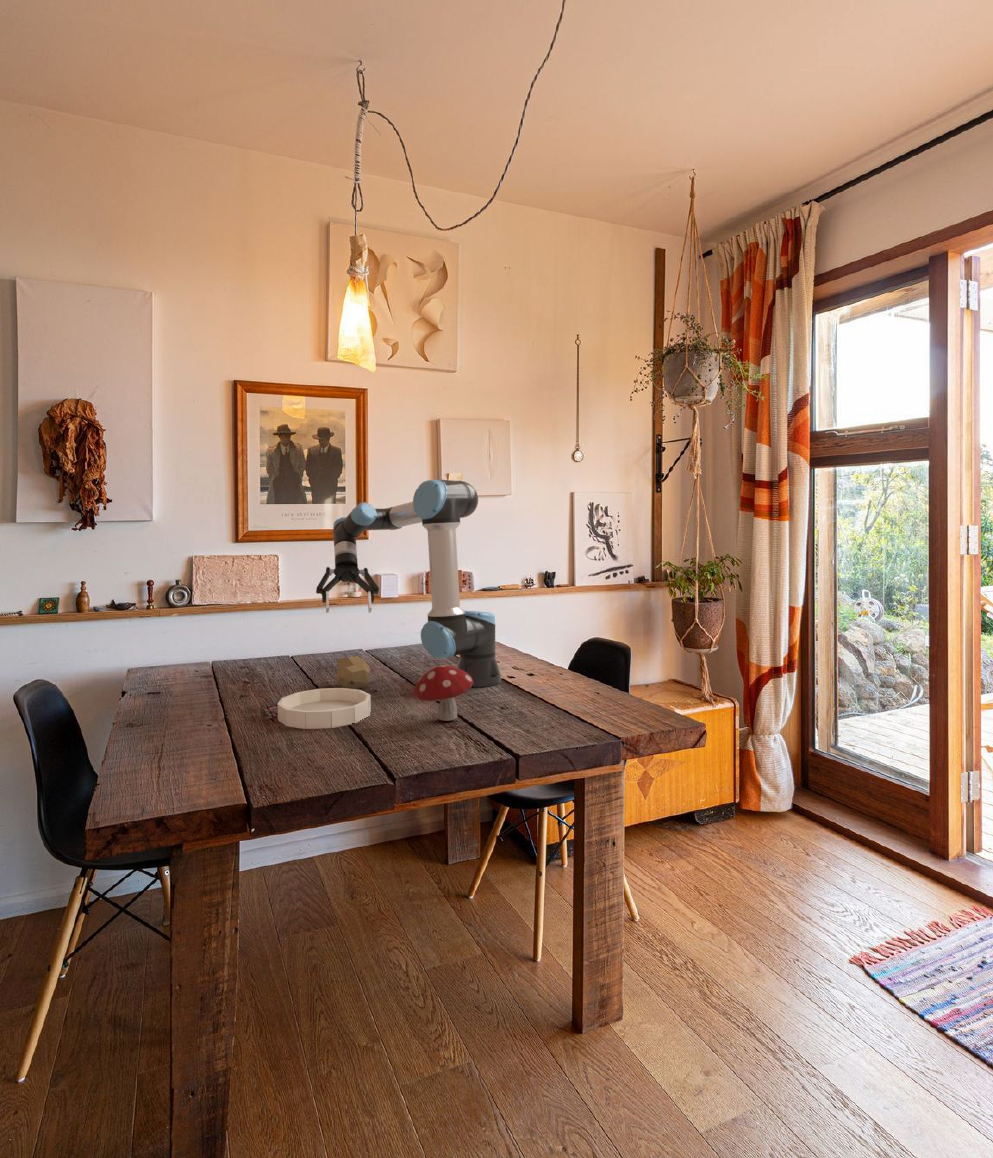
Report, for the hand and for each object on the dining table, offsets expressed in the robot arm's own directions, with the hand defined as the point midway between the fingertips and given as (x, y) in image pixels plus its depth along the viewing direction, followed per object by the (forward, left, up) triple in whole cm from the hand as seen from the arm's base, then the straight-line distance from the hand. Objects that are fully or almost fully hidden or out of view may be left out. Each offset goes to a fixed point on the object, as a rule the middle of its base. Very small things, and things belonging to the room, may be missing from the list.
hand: (349, 610), depth 224 cm
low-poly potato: (-1, +10, -24) cm, 26 cm away
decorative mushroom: (-29, +48, -24) cm, 61 cm away
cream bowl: (+3, +38, -23) cm, 45 cm away
